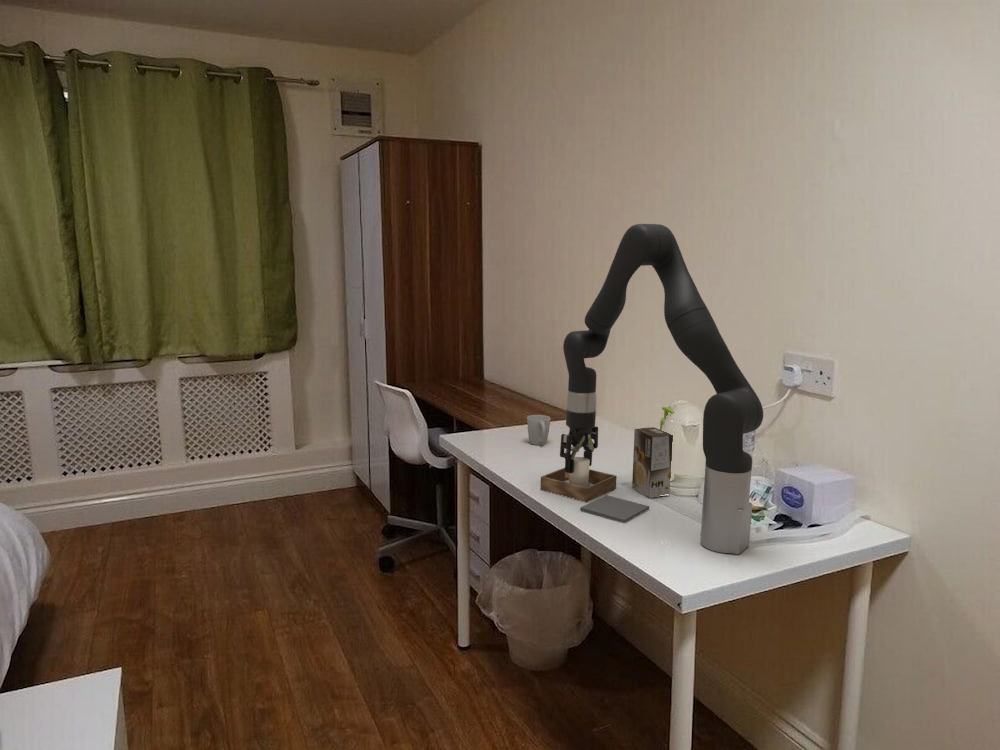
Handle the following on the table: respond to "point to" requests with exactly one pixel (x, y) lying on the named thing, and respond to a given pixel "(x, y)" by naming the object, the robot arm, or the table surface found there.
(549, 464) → the table surface
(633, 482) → the coffee box
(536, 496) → the table surface
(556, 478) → the holder
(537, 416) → the cup
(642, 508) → the mat
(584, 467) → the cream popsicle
